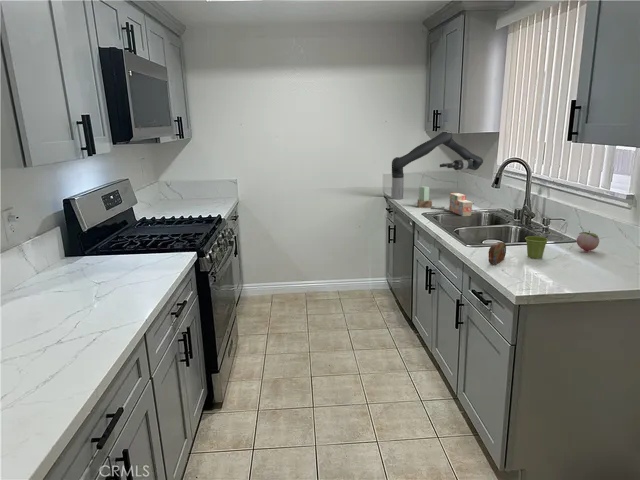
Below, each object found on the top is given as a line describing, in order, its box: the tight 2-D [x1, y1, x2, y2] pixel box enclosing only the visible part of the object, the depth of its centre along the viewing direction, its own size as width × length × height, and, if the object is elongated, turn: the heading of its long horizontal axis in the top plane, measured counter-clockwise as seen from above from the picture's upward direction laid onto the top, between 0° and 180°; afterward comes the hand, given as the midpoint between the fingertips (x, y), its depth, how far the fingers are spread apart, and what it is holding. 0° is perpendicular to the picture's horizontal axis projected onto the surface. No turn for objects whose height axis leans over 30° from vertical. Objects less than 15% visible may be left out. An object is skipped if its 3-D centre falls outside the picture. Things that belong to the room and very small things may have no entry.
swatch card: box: [430, 205, 446, 210], centre depth 317 cm, size 9×7×1 cm
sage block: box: [418, 185, 430, 201], centre depth 322 cm, size 5×5×10 cm
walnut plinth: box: [416, 198, 433, 209], centre depth 323 cm, size 9×9×5 cm
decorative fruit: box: [576, 230, 600, 252], centre depth 205 cm, size 9×8×10 cm
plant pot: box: [524, 235, 549, 260], centre depth 199 cm, size 9×9×9 cm
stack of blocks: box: [448, 192, 473, 217], centre depth 297 cm, size 21×6×12 cm, turn 8°
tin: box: [488, 241, 507, 265], centre depth 195 cm, size 15×3×8 cm, turn 138°
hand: (443, 166), depth 327 cm, fingers open, 8 cm apart
